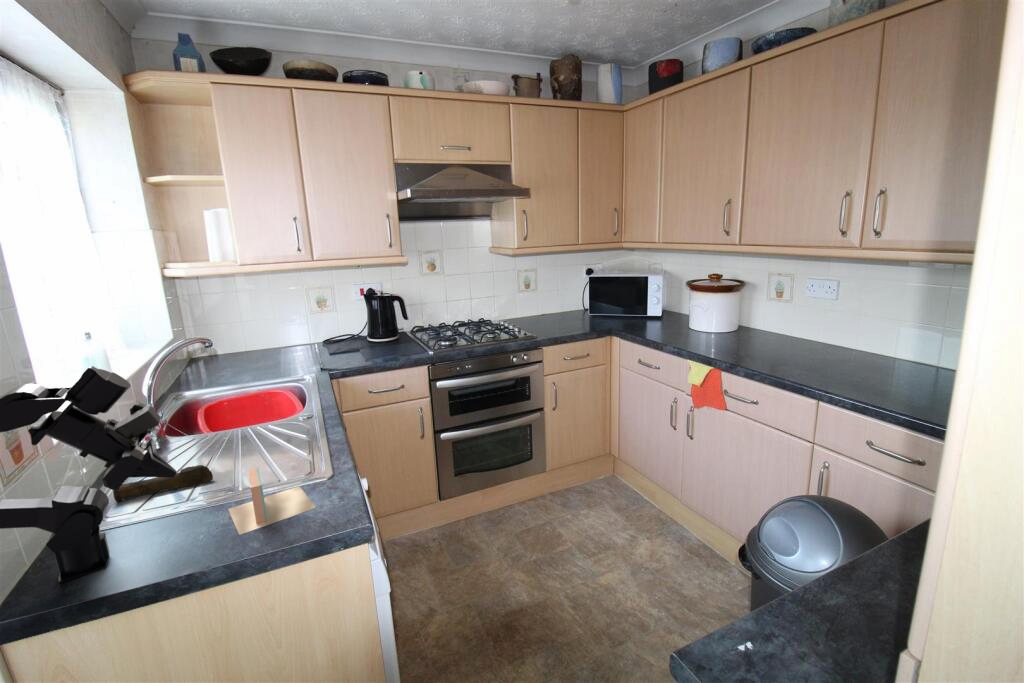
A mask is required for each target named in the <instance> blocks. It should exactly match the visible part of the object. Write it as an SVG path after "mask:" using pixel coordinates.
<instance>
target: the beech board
mask: <svg viewBox="0 0 1024 683" xmlns="http://www.w3.org/2000/svg"><path fill="white" fill-rule="evenodd" d="M264 502H265V509H266V515H267V521H266V522H263V523H259V524H256V519H255V512H254V506H253V500H252V501H248V502H245V503H243V504H240V505H236V506H234V507H230V508H228V509H227V510H228V512H229V515H230V517H231V520H232V521H233V523H234V526H235V528H236V530H237V533H238V535H239V536H241V535H243V534H246V533H249V532H252V531H254V530H259V529H260V528H264V527H266V526H268V525H271V524H274V523H278V522H280V521H283V520H286V519H289V518H291V517H295V516H297V515H300V514H304V513H305V512H309V511H311V510H315V509H317V508H316V506H315V504H314V503H313V502H312V501H311V499H310V498H309V496H308V495H307V494H306V493H305V491H304V490H303V489H302V488H301V486H299V485H298V486H296V487H293V488H288V489H285V490H282V491H281V492H280V491H279V492H277V493H273V494H270V495H267V496H264Z"/></svg>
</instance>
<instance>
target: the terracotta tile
mask: <svg viewBox="0 0 1024 683" xmlns="http://www.w3.org/2000/svg"><path fill="white" fill-rule="evenodd" d="M247 470H248V471H247V472H248V481H249V487H250V494H251V499H252V501H253V506H254V512H255V519H256V524H259V523H263V522H266V521H267V515H266V509H265V502H264V497H265V496H264V490H263V484H262V479H261V473H260V468H259V467H254V468H250V469H247Z"/></svg>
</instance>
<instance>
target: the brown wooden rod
mask: <svg viewBox="0 0 1024 683" xmlns="http://www.w3.org/2000/svg"><path fill="white" fill-rule="evenodd" d="M213 479H214V477H213V472H212V471H211V470H210V469H209V467H207V466H205V465H203V464H198V465H195V466H194V465H193V466H187V467H185V468H182V469H181V470H180V471H179V472H177V473H176V475H175V476H174V477H173V478H167V477H151V478H149V479H141V480H138V481H137V480H136V481H131V482H127V483H123V484H122V485H121V486H120V487H119V488H118V490H116V491H114V490H112V491H113V492H112V493H113V498H114V501H115V502H116V503H117V502H118V501H119V502H120V500H121V501H124V500H126V501H127V500H128V499H131V498H136V497H140V496H145V495H149V494H154V493H159V492H163V491H167V490H171V489H176V488H183V489H189V488H192V487H196V486H197V487H198V486H199V485H202V484H205V483H209V482H210V481H213ZM119 502H118V503H119Z"/></svg>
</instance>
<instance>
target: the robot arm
mask: <svg viewBox="0 0 1024 683" xmlns="http://www.w3.org/2000/svg"><path fill="white" fill-rule="evenodd" d="M131 386H132V385H131V383H130V382H129V381H128V380H127V379H125V378H124V377H122V376H121V375H119V374H117V373H115V372H113V371H112V372H111V371H108V370H106V369H102V368H98V367H95V366H94V365H89V366H88V368H86V370H84V372H83V373H82V374H81V375H80V378H79V379H78V380H77V381H76V382H75V383H74V384H73V386H60V387H59V386H58V387H57V386H56V387H45V386H43V385H41V384H36V383H32V382H30V383H24V384H20V385H18V386H16V387H14V388H12V389H11V390H9V391H7V392H6V393H4V394H2V395H1V396H0V433H6V432H10V431H14V430H17V429H21V428H23V427H24V428H25V427H28V426H30V427H29V429H28V430H27V432H28V433H29V435H30V443H31V445H32V446H37V445H38V444H39V443H41V441H42V440H43V439H44V438H45V436H46V437H49V438H51V439H54V440H56V441H58V442H60V443H63V444H64V445H66V446H69V447H71V448H74V449H76V450H78V451H80V453H79V455H78V456H80V457H82V458H86V457H87V456H88V455H89V456H91V457H93V458H95V459H98V460H100V461H103V462H105V464H103V466H104V467H105V468H107V470H106V471H105V473H104V475H103V476H102V482H103V483H102V484H103V487H105V488H108V489H109V490H112V491H113V490H114V491H116V490H118V488H119V487H120V486H121V485H122V484H125V482H126V481H127V480H128V478H157V477H167V478H173V477H174V476H175V475H176V473H178V472H177V471H178V470H176V469H175V468H174V467H173V466H172V465H171V464H170V463H168V462H167V461H166V460H165V459H164V458H162V457H161V456H160V455H159V454H158V452H156V450H155V446H154V439H153V438H150V439H149V440H148V441H147V442H146V443H145V442H142V441H143V440H144V439H145V437H146V436H147V435H148V434H151V433H152V432H153V429H154V428H156V427H157V426H159V425H160V423H161V421H160V420H161V419H162V416H160V415H159V413H158V412H157V410H156V407H155V406H151V404H150V403H148V404H144V403H141V402H136V403H135V404H133V405H131V406H130V408H129V414H130V415H126V417H125V418H123V419H122V420H120V421H117V420H116V419H113V418H111V419H109V418H108V419H107V420H106V421H105V420H103V419H101V418H99V417H97V415H99V414H106V413H108V412H109V411H110V410H111V409H112V408H113V407H114V406H115V405H116V404H117V402H118V401H119V400H120V399H121V398H122V397H123V396H124V394H126V392H128V390H129V389H130V388H131ZM67 401H68V402H70V403H69V404H67V406H66V408H65V409H63V411H58V410H59V409H60V408H61V407H62V406H63V404H65V403H66V402H67ZM47 414H49V415H48V416H47V417H46V418H45V419H44V420H43V421H42V422H41V423H40V424H36V425H34V424H35V423H37V422H38V421H39V420H40V419H41V418H43V416H44V415H47ZM95 415H96V416H95ZM31 425H32V426H31ZM1 499H2V498H1ZM109 501H110V498H109V497H108V495H107V493H105V492H104V491H103V490H102V489H99V488H95V487H91V484H87V485H83V486H73V485H62V486H60V487H59V488H58V490H57V491H56V493H55V494H54V495H50V496H48V497H47V496H46V497H43V498H7V499H6V498H3V499H2V500H1V502H0V530H3V529H5V530H6V529H27V528H36V529H39V530H42V531H45V532H48V533H50V534H51V535H50V536H49V538H48V539H47V542H46V547H47V548H48V549H49V550H50V551H51V552H52V553H53V555H54V558H55V559H54V560H55V563H56V566H57V569H58V573H59V574H58V575H59V576H58V583H59V584H61V583H65V582H69V581H70V580H74V579H77V578H80V577H83V576H85V575H89V574H92V573H95V572H97V571H100V570H103V569H106V567H108V560H109V559H110V557H111V556H110V547H109V542H108V538H107V535H106V534H107V533H106V532H101V527H100V525H101V524H102V522H103V519H104V517H105V514H106V511H107V510H108V506H109V503H110V502H109Z"/></svg>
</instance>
